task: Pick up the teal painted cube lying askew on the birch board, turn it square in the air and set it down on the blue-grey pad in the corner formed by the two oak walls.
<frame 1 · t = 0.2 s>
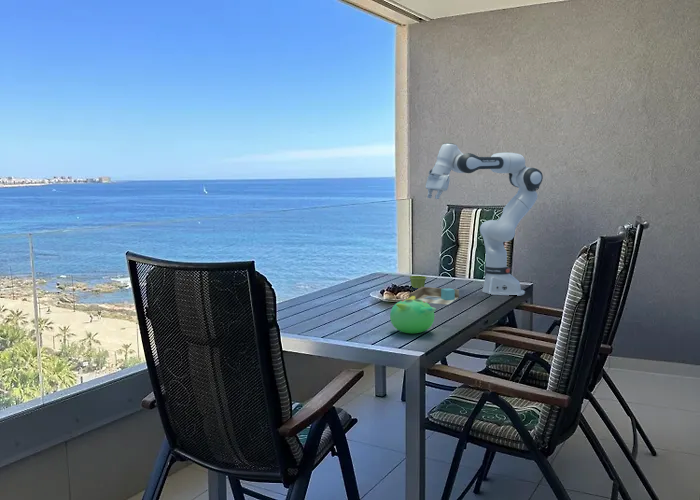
hand: (432, 198, 331), 52 cm above the table, tool tilted 20°, fingers open, 8 cm apart
arena: (434, 301, 323), on the table
plant pot: (417, 293, 346), on the table
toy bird: (412, 333, 259), on the table
cube: (447, 299, 323), point 1 cm above the table, touching arena
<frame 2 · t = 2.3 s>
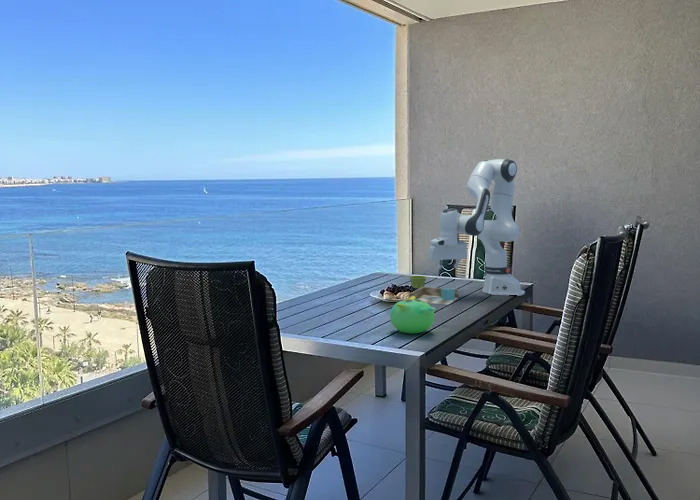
hand: (447, 268, 321), 17 cm above the table, tool pointing down, fingers open, 8 cm apart
nothing on the table moved.
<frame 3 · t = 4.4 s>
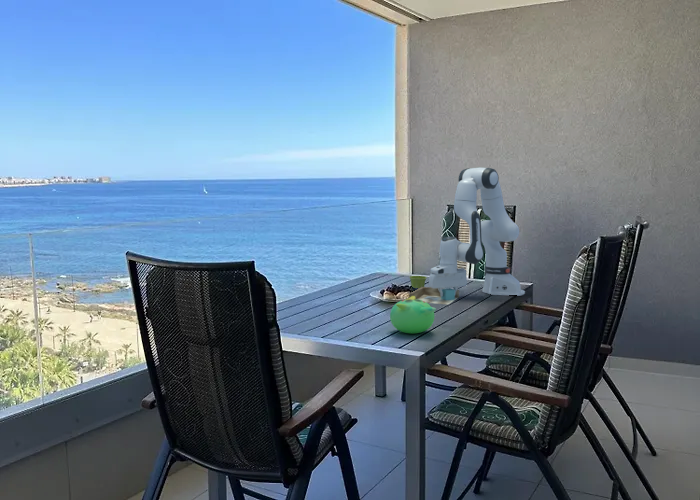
hand: (447, 295, 323), 3 cm above the table, tool pointing down, fingers closed on cube, 5 cm apart
cube: (447, 299, 323), point 1 cm above the table, touching arena, gripper
everything else where it was.
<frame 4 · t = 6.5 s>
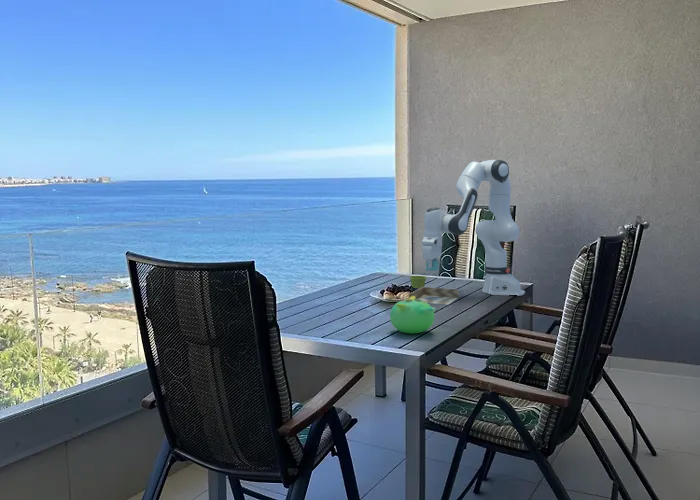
hand: (432, 267, 324), 17 cm above the table, tool pointing down, fingers closed on cube, 5 cm apart
cube: (432, 270, 324), point 16 cm above the table, touching gripper
everything else where it was.
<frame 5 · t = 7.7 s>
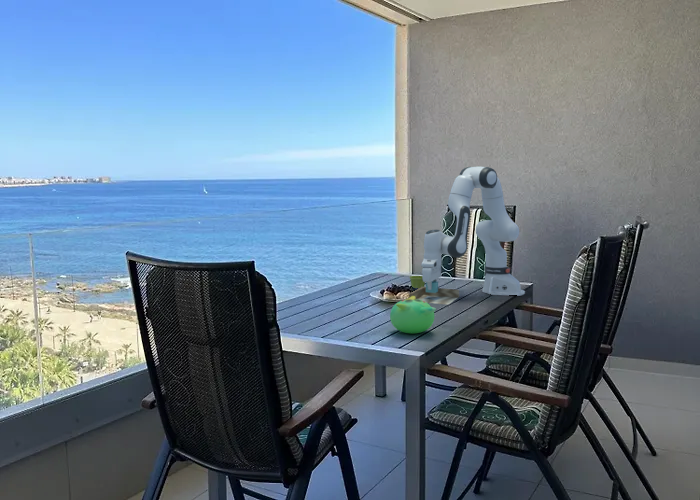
hand: (431, 288, 325), 6 cm above the table, tool pointing down, fingers closed on cube, 5 cm apart
cube: (431, 291, 325), point 4 cm above the table, touching gripper
everything else where it was.
when the fingers open (5 cm above the table, at t = 8.6 s): cube drops 2 cm, resting on arena.
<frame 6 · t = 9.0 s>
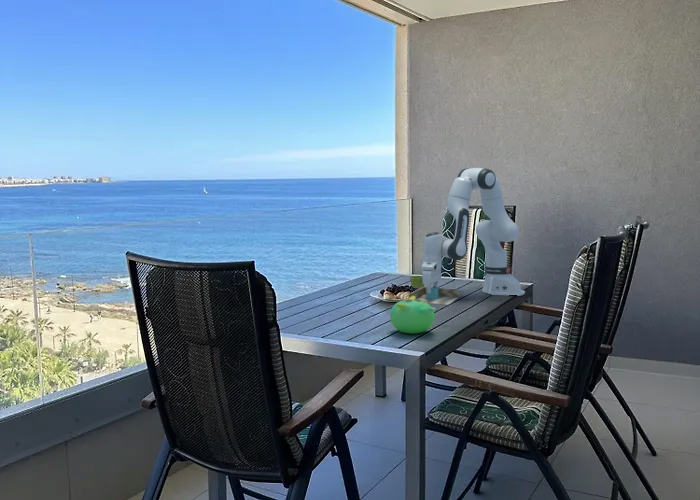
hand: (432, 291, 325), 5 cm above the table, tool pointing down, fingers open, 8 cm apart
cube: (432, 297, 326), point 1 cm above the table, touching arena
everything else where it was.
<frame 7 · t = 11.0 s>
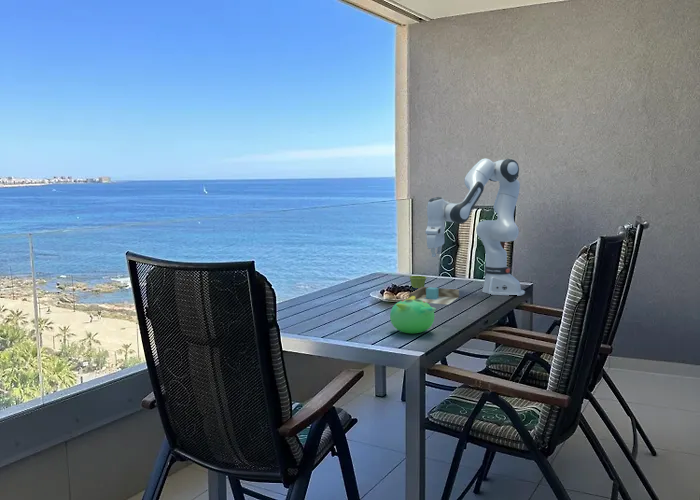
hand: (436, 255, 331), 22 cm above the table, tool pointing down, fingers open, 8 cm apart
nothing on the table moved.
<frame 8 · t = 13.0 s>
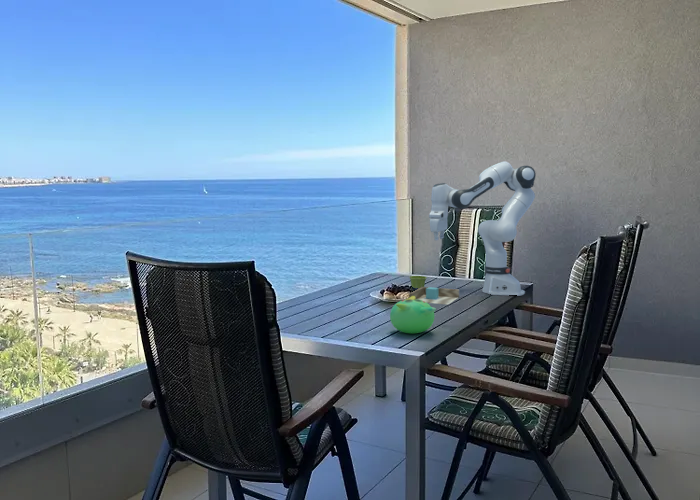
hand: (439, 239, 343), 29 cm above the table, tool pointing down, fingers open, 8 cm apart
nothing on the table moved.
at the end: cube 0.1 cm from the target spot on the arena, point 1.1 cm above the arena's base; cube tilted 0°; the gripper is holding nothing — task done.
